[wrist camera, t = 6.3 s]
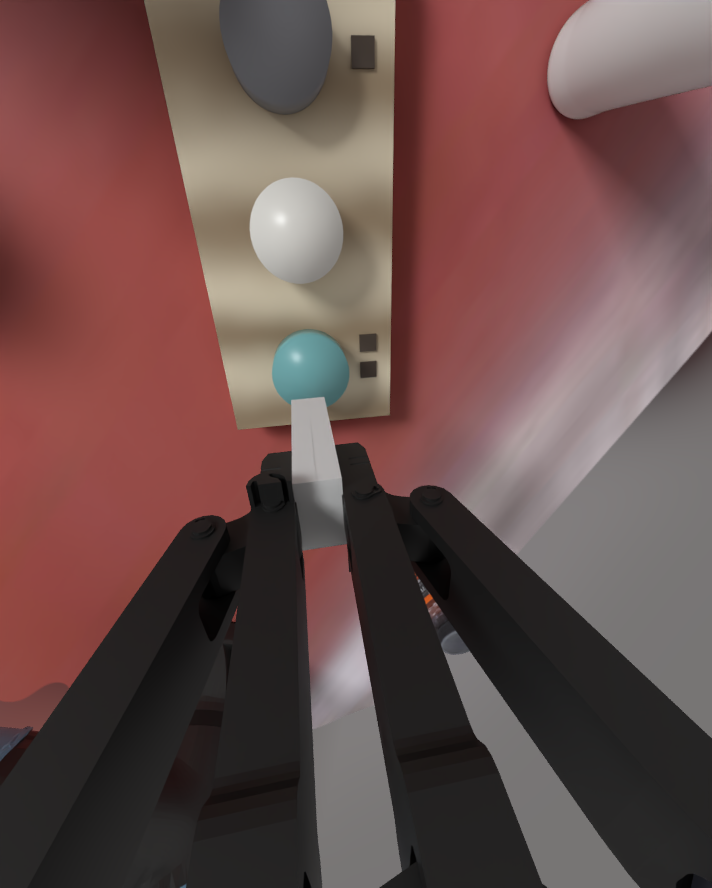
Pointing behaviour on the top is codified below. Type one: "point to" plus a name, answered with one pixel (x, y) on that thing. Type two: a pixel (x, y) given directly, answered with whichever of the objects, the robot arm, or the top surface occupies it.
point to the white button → (296, 230)
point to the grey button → (278, 49)
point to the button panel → (277, 157)
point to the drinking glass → (629, 54)
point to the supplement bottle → (443, 626)
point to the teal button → (310, 367)
